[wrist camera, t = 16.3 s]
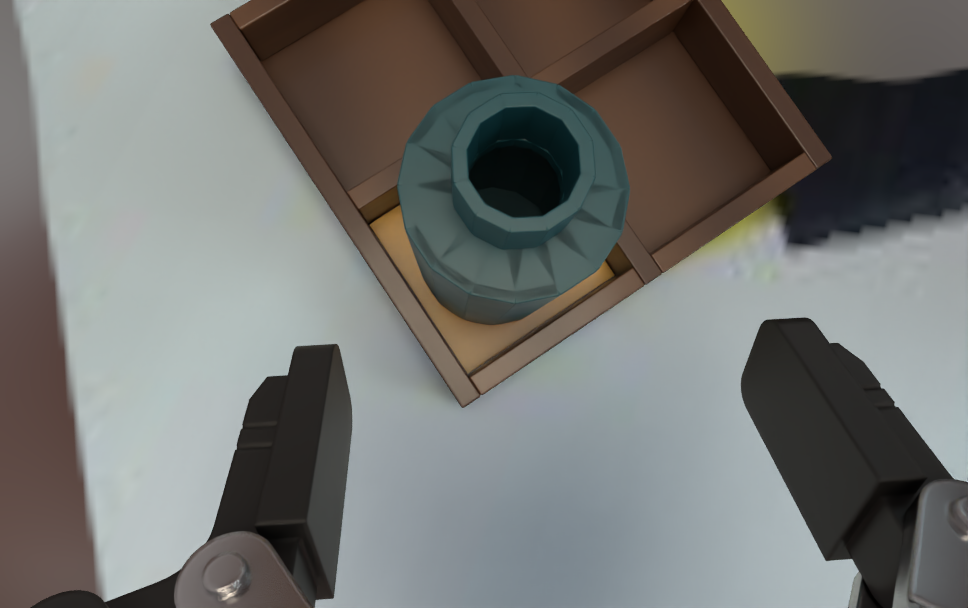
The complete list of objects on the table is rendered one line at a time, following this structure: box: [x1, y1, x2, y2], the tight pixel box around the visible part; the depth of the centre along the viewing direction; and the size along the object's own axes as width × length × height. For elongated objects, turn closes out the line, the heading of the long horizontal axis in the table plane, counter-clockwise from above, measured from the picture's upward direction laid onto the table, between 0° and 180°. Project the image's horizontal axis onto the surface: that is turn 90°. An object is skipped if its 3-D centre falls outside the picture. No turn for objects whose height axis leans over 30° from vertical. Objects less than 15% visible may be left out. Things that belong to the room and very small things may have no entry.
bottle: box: [397, 75, 630, 325], centre depth 19 cm, size 6×6×12 cm
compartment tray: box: [210, 0, 832, 408], centre depth 25 cm, size 17×17×3 cm
